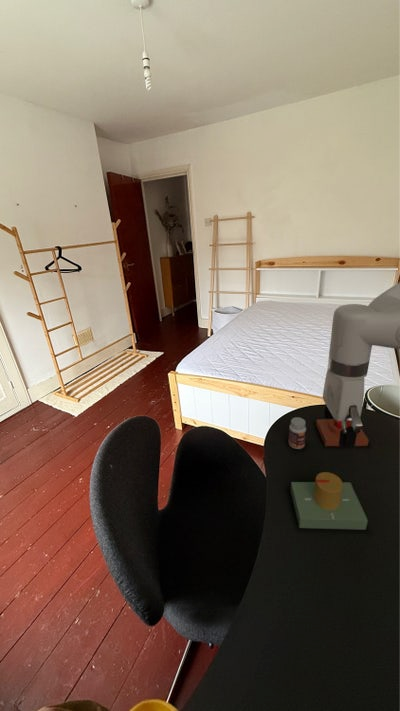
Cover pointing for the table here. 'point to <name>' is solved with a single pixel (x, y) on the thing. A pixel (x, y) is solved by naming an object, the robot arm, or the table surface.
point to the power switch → (337, 433)
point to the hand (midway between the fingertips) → (338, 430)
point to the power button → (339, 424)
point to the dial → (328, 491)
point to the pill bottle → (297, 433)
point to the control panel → (317, 517)
